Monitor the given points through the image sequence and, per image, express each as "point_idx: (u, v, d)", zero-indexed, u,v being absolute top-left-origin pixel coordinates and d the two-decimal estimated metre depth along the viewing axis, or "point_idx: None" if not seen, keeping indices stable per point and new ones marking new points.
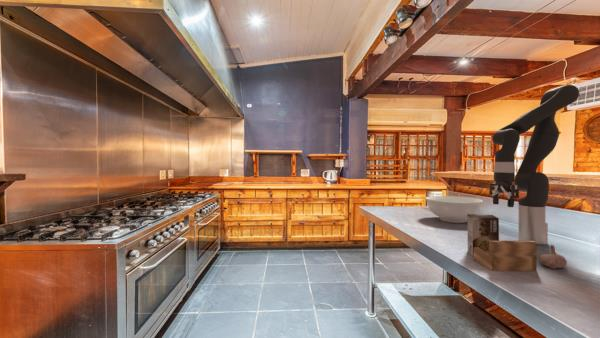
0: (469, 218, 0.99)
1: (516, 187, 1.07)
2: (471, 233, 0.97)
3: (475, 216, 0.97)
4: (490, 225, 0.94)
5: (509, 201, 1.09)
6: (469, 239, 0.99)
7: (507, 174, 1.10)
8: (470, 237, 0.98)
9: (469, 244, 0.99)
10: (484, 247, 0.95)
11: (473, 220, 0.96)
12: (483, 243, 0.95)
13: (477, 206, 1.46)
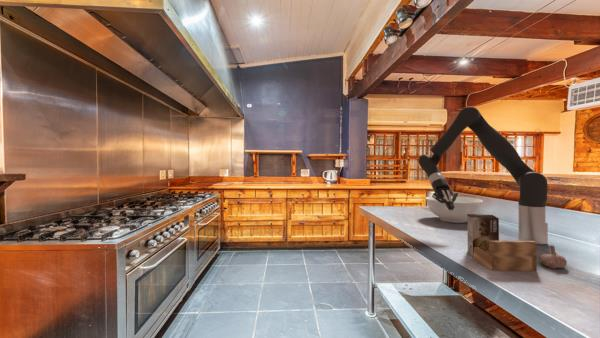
0: (469, 218, 0.99)
1: (434, 196, 1.23)
2: (471, 233, 0.97)
3: (475, 216, 0.97)
4: (490, 225, 0.94)
5: None
6: (469, 239, 0.99)
7: (432, 185, 1.30)
8: (470, 237, 0.98)
9: (469, 244, 0.99)
10: (484, 247, 0.95)
11: (473, 220, 0.96)
12: (483, 243, 0.95)
13: (477, 206, 1.46)
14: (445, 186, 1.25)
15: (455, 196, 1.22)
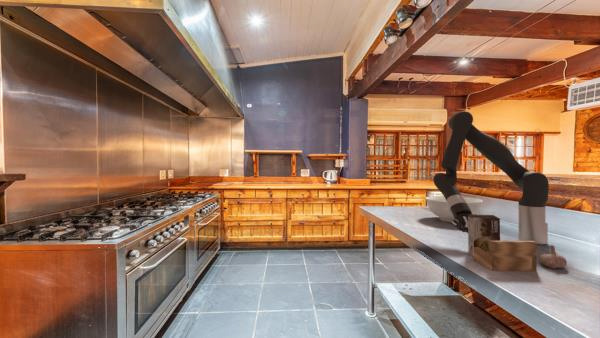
0: (470, 218, 0.98)
1: (454, 223, 1.07)
2: (472, 233, 0.96)
3: (476, 216, 0.96)
4: (491, 226, 0.93)
5: None
6: (470, 240, 0.98)
7: (451, 210, 1.13)
8: (471, 237, 0.98)
9: (470, 244, 0.99)
10: (485, 248, 0.94)
11: (474, 220, 0.95)
12: (484, 244, 0.94)
13: (477, 206, 1.46)
14: (467, 211, 1.08)
15: None
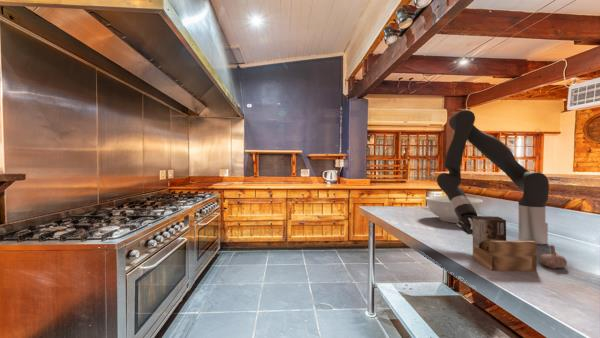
0: (475, 220, 0.95)
1: (459, 225, 1.03)
2: (477, 236, 0.93)
3: (481, 218, 0.93)
4: (497, 228, 0.90)
5: None
6: (475, 242, 0.95)
7: (455, 211, 1.10)
8: (476, 240, 0.94)
9: None
10: None
11: (479, 222, 0.92)
12: None
13: (477, 206, 1.46)
14: (472, 213, 1.04)
15: None
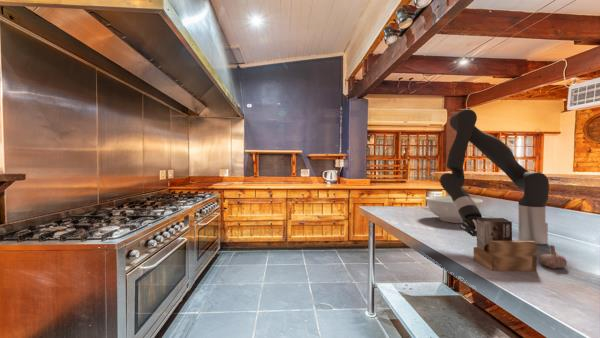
0: (479, 222, 0.92)
1: (463, 227, 1.00)
2: (482, 238, 0.90)
3: (486, 220, 0.90)
4: (503, 230, 0.87)
5: None
6: (479, 245, 0.92)
7: (459, 212, 1.07)
8: (480, 242, 0.91)
9: None
10: None
11: (485, 224, 0.89)
12: None
13: (477, 206, 1.46)
14: (476, 214, 1.02)
15: None
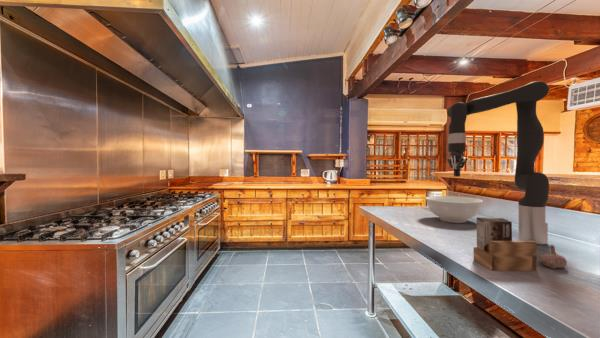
0: (479, 222, 0.92)
1: (464, 160, 1.16)
2: (482, 238, 0.90)
3: (486, 220, 0.90)
4: (502, 230, 0.87)
5: (456, 171, 1.21)
6: (479, 245, 0.92)
7: (458, 144, 1.19)
8: (480, 242, 0.91)
9: None
10: None
11: (484, 224, 0.89)
12: None
13: (477, 206, 1.46)
14: None
15: None
